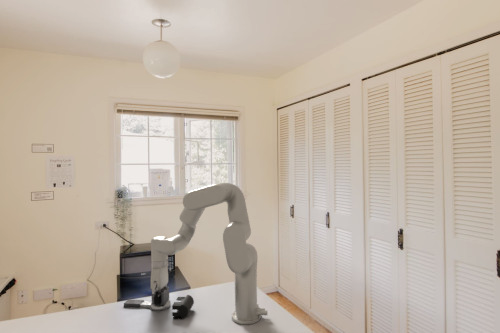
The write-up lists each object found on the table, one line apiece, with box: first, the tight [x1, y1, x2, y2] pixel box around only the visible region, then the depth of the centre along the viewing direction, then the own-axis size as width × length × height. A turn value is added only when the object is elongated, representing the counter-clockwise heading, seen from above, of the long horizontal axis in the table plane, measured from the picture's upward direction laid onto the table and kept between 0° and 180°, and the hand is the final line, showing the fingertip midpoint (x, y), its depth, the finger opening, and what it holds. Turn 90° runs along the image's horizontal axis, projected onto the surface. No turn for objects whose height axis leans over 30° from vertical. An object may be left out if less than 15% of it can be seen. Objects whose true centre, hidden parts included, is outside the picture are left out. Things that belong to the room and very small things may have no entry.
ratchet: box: [123, 299, 172, 312], centre depth 142 cm, size 22×9×5 cm, turn 82°
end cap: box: [171, 294, 195, 320], centre depth 133 cm, size 10×7×7 cm
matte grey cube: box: [150, 286, 170, 305], centre depth 141 cm, size 6×6×6 cm
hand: (160, 300), depth 141 cm, fingers closed on matte grey cube, 5 cm apart
